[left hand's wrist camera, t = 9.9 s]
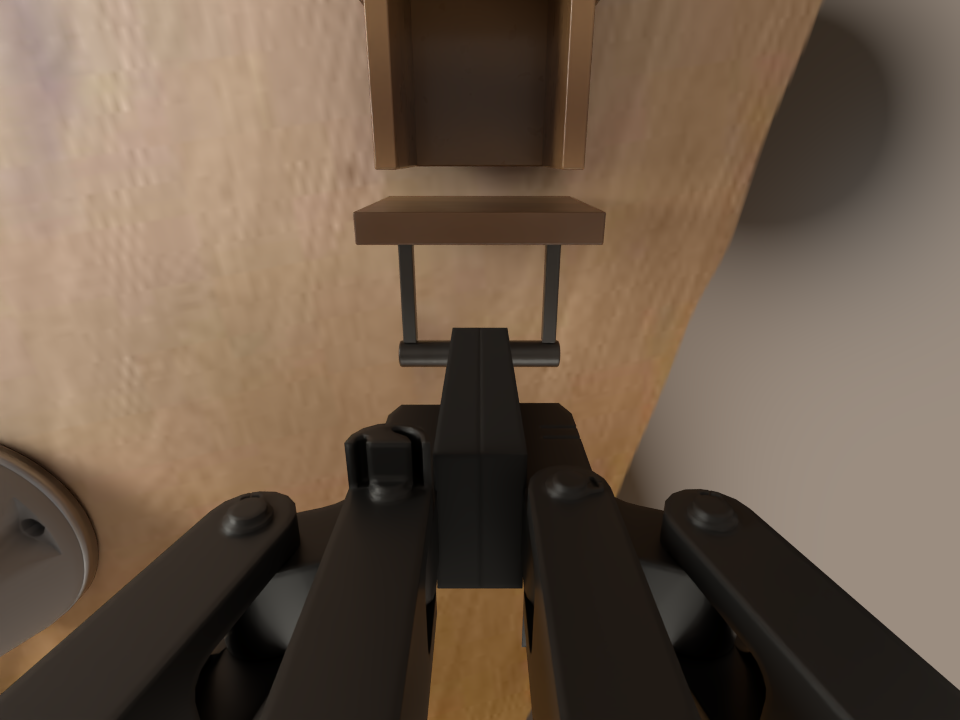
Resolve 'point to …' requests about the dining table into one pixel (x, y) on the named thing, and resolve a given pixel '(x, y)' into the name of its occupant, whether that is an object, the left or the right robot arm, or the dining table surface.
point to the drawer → (479, 136)
